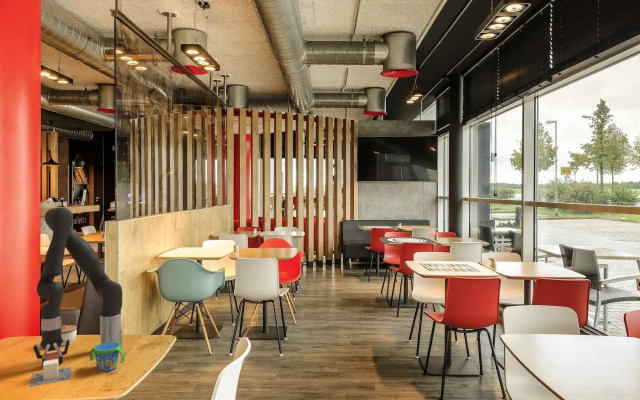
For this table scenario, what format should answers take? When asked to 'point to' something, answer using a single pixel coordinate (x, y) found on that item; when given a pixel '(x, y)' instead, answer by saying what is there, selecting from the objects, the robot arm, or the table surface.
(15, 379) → the table surface
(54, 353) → the red brick
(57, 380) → the base plate
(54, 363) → the cream brick
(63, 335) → the lidded jar
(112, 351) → the snack cup
